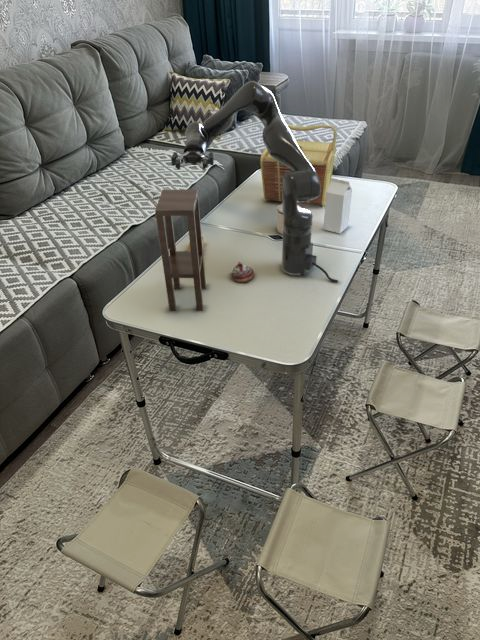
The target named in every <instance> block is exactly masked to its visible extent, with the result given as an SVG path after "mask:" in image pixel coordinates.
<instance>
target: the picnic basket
mask: <svg viewBox="0 0 480 640" xmlns="http://www.w3.org/2000/svg"><path fill="white" fill-rule="evenodd" d="M286 124H287V126H288V127H289V129H290V130H291V131H298V132H310V131H314V130H318V129H331V130H332V131H333V137H332V142H324V141H309V140H296V139H295V141H296V143H297V145H298V146H299V148H300V150H301V151H302V153H303V155H304V156H305V157H306V159H307V160H308V162H309V163H310V164H311V166H312V167H313V168H314V170H315V171H316V173H317V175H318V177H319V180H320V184H321V192H320V195H319V197H318V198H316V199H314V200H310V201H304V202H298V203H297V204H307V205H318V206H322V207H325V202H326V191H327V189H328V187H329V184H330V182H331V178H333V170H334V165H335V164H334V163H335V157H336V151H337V146H338V145H337V137H338V131H337V130H338V129H337V128H336V127H335V126H334V125H329V124H317V125H315V124H314V125H308V126H300V125H293V124H291V123H286ZM259 164H260V173H261V181H262V193H263V198H264V201H265V202H268V201H273V202H282V179H283V176H284V174H285V173H286V172H291V171H292V170H291V169H289V168H288V167H286V166H284V165H283V164H281V163H279V162H278V161H276V160H275V159H274V158H273V157H272V156H271V155H270V154H269V152H268V150H267V148H266V147H265V148H264V150H263V151H262V153H261V155H260V160H259Z"/></svg>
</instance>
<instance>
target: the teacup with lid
mask: <svg viewBox="0 0 480 640" xmlns="http://www.w3.org/2000/svg"><path fill="white" fill-rule="evenodd" d="M297 207H301V206H300V205H299V204H297ZM276 211H277V227H276V228H277V229H276V230H277V232H278V233H279V234H280V235H283V210H282V203H281V204H279V205H278V206H277V209H276Z"/></svg>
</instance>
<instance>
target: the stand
mask: <svg viewBox="0 0 480 640" xmlns="http://www.w3.org/2000/svg"><path fill="white" fill-rule="evenodd" d="M154 212H155V219H156V225H157V232H158V233H157V234H158V240H159V241H158V242H159V247H160V254H161V261H162V269H163V275H164V282H165V288H166V295H167V302H168V310H169V312H175V311H177V304H176V295H175V290H180V289H181V279H193V288H194V297H195V306H196V311H198V312H199V311H204V301H203V300H204V299H203V291H202V290H204V289H205V290H206V287H207V284H206V283H207V281H206V269H205V259H204V246H203V245H202V237H203V234H202V223H201V222H202V221H201V210H200V200H199V190H198V189H162V190H161V193H160V196H159V199H158V201H157V205H156V207H155V210H154ZM183 216H184V217H186V219H187V228H188V237H189V243H190V249H191V251H188V250H177V245H176V237H175V229H174V221H173V217H183Z"/></svg>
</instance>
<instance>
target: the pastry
mask: <svg viewBox="0 0 480 640" xmlns="http://www.w3.org/2000/svg"><path fill="white" fill-rule="evenodd" d="M230 277H231V279H232V280H233V281H234V282H237V283H249V282H250V281H252V279H253V278H254V277H255V271H254V268H252V267H251V266H248V265H246V264H244V263H242V262H240V261H239V262H237V264H236V265H235V266H234V267H233V270H232V272H231V274H230Z"/></svg>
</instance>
